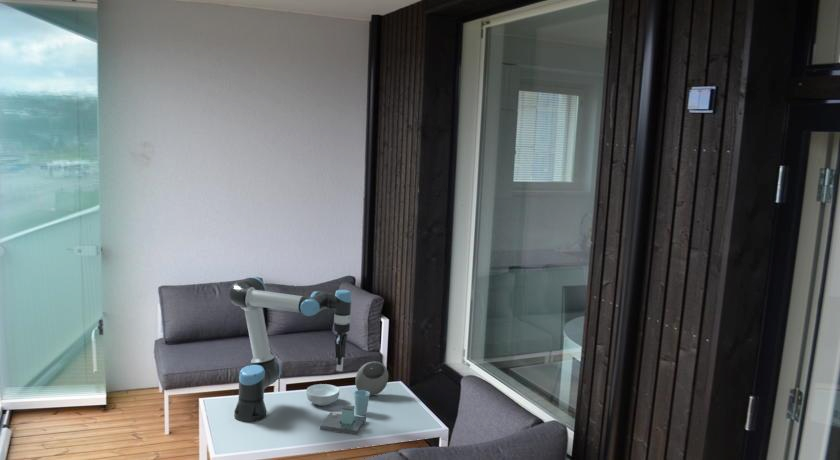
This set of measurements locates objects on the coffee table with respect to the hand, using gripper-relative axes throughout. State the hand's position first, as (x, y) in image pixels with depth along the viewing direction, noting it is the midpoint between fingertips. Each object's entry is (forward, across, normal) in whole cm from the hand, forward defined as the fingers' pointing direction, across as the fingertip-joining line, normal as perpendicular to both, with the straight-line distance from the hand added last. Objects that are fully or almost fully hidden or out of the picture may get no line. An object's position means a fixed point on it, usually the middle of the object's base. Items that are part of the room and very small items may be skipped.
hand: (339, 370), depth 335 cm
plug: (+24, -6, -7) cm, 26 cm away
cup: (+25, +11, -9) cm, 28 cm away
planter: (+25, +35, -8) cm, 44 cm away
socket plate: (+24, -6, -5) cm, 26 cm away
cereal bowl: (+25, +17, +13) cm, 33 cm away
